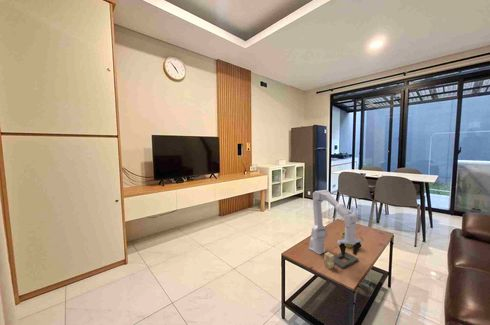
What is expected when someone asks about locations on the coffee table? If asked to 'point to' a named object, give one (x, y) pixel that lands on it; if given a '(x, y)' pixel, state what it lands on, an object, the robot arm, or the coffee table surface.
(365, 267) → the coffee table surface
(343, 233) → the plant pot
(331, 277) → the coffee table surface
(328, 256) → the birch peg
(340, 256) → the slotted plate
